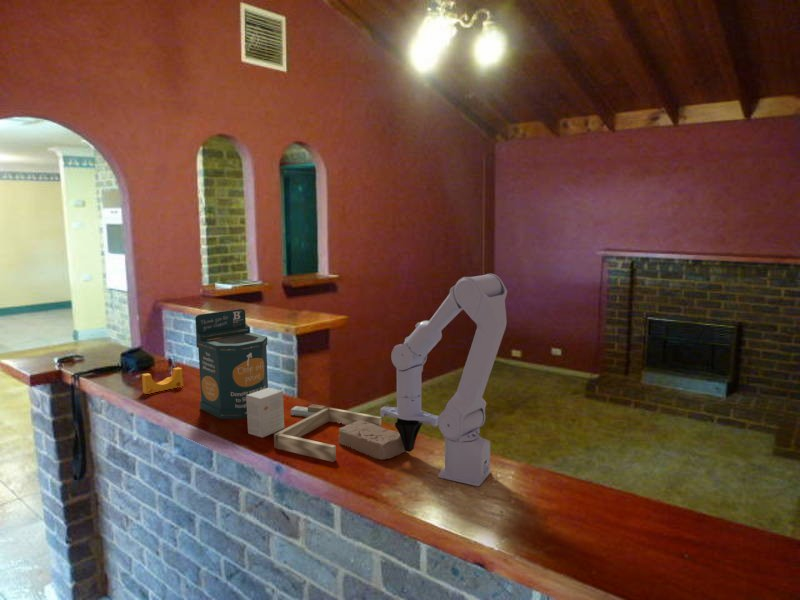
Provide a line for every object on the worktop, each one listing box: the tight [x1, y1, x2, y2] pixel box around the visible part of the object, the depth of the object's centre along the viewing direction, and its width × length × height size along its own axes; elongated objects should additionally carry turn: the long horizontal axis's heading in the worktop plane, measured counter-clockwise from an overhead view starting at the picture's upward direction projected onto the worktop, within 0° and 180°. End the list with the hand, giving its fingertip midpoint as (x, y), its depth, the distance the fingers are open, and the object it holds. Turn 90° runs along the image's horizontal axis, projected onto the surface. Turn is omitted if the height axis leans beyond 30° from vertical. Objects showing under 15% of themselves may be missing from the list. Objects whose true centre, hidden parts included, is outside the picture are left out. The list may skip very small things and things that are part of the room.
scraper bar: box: [290, 404, 327, 418], centre depth 162 cm, size 10×3×3 cm, turn 71°
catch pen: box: [273, 406, 383, 463], centre depth 145 cm, size 17×22×4 cm
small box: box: [246, 387, 285, 438], centre depth 150 cm, size 8×6×10 cm
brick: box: [337, 421, 406, 461], centre depth 139 cm, size 17×8×5 cm, turn 47°
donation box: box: [194, 308, 269, 420], centre depth 166 cm, size 16×16×28 cm
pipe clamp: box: [141, 366, 184, 395], centre depth 186 cm, size 12×4×6 cm, turn 135°
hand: (409, 449), depth 134 cm, fingers closed
